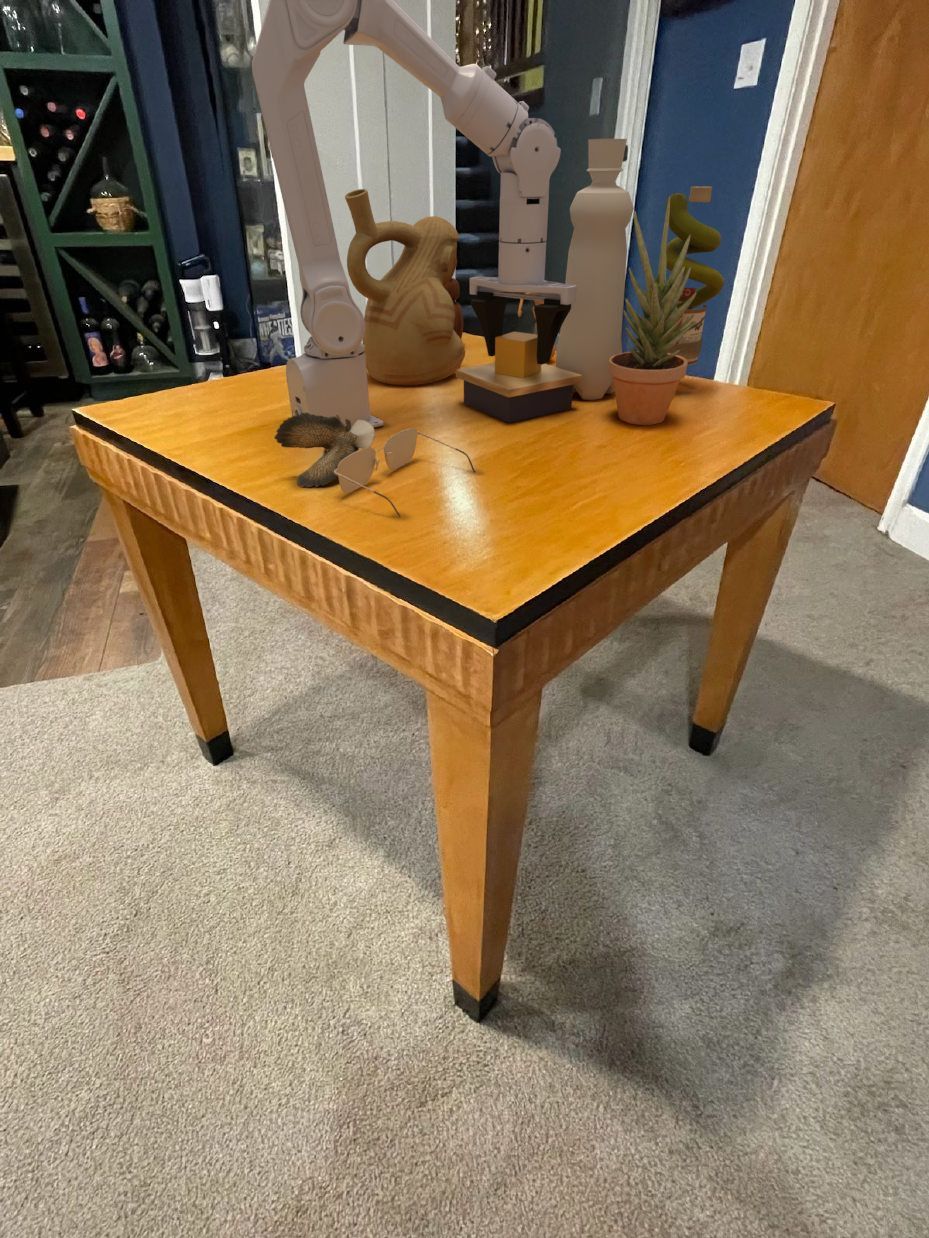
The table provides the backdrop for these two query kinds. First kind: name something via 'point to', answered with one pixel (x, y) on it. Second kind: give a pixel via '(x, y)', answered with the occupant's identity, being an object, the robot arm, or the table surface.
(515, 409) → the box
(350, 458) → the eyeglasses
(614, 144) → the bottle
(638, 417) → the potted plant
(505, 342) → the block
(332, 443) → the eagle figurine
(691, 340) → the snake in a can
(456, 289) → the wooden figurine
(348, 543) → the table surface
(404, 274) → the ceramic vessel
